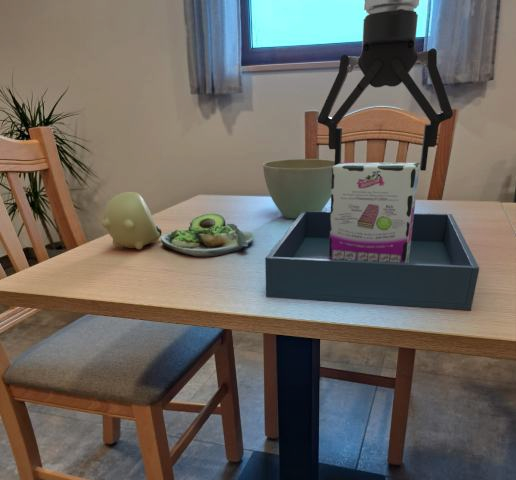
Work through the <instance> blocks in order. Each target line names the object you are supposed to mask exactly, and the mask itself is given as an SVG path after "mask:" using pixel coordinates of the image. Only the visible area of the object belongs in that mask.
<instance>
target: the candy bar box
mask: <svg viewBox="0 0 516 480" xmlns="http://www.w3.org/2000/svg"><path fill="white" fill-rule="evenodd" d="M420 163H421V162H341V163H339V164H337V165H334V166H333V167H332V186H331V197H330V211H331V218H330V245H329V259H333V260H354V261H376V262H398V263H409V254H410V246H411V236H412V228H413V218H414V213H415V208H416V201H417V191H418V181H419V173H420Z"/></svg>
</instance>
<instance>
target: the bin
mask: <svg viewBox="0 0 516 480" xmlns="http://www.w3.org/2000/svg"><path fill="white" fill-rule="evenodd" d="M330 218H331V210H330V211H329V210H328V211H327V210H322V211H303V212H302V213H301V214H300V215H299V217H298V218H297V219H294V221H293V223H292V224H291V225H290V226H289V228H288V229H287V230H286V232H285V233H284V234H283V235H282V237H281V238H280V239H279V240H278V242H277V243H276V244H275V246H274V247H272V249H271V250H270V252H269V253H268V254H267V255H266V256H265V261H264V263H265V266H264V267H265V297H266V298H278V299H279V298H280V299H296V300H307V301H308V300H309V301H310V300H311V301H322V302H323V301H325V302H337V303H338V302H339V303H351V304H352V303H354V304H355V303H356V304H367V305H383V306H384V305H385V306H396V307H397V306H398V307H413V308H414V307H415V308H427V309H441V310H442V309H443V310H458V311H460V310H461V311H472V307H473V302H474V299H475V298H474V297H475V294H476V293H475V292H476V288H477V282H478V277H479V272H480V267H479V265H478V263H477V260H476V258H475V257H474V255H473V253H472V251H471V249H470V247H469V245H468V243H467V241H466V240H465V237H464V235H463V233H462V231H461V229H460V227H459V226H458V223H457V221H456V219H455V218H454V216H453V214H452V213H424V212H423V213H421V212H420V213H419V212H418V213H417V212H416V213H415V212H414V218H413V228H412V236H411V246H410V254H409V263H398V262H376V261H354V260H333V259H329V245H330Z"/></svg>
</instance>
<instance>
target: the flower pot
mask: <svg viewBox="0 0 516 480" xmlns="http://www.w3.org/2000/svg"><path fill="white" fill-rule="evenodd" d="M334 165H335V160H332V159H323V158H321V159H320V158H296V159H295V158H289V159H277V160H271V161H266V162H264V163H263V164H262V169H263V176H264V181H265V184H266V188H267V191H268V194H269V195H270V198H271V200H272V202H273V203H274V205H275V206H276V208H277V209H278V211H279V212H280V213H281V215H282V216H283V217H285V218H287V219H292V220H296V219H297V218H298V217H299V215H300V214H301V213H302V212H303V211H323V210H324V208H325V207H326V205H327V204H328V203H329V201H330V200H331V186H332V167H333V166H334Z"/></svg>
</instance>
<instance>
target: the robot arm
mask: <svg viewBox="0 0 516 480" xmlns="http://www.w3.org/2000/svg"><path fill="white" fill-rule="evenodd" d="M419 5H420V0H364V9H363V10H364V12H365V13H366V14H367V15H366V16H365V17H364V19H363V24H362V25H363V26H362V42H361V43H362V45H361V53H360V55H359V56H349V55H348V54H343V55H341V57H340V59H339V67H338V73H337V75H336V76H335V79H334V82H333V84H332V85H331V88H330V90H329V93H328V95H327V97H326V99H325V101H324V103H323V106H322V108H321V111H320V112H319V114H318V116H317V123H318V124H320V125H323V126H326V127H327V128H328V148H329V150H334V161H335V165H337V164H339V163H342V143H343V142H342V140H343V127H341V126H340V127H338V125H339V124H340V122H341V121H342V120H343V118H344V117H345V116H346V114H347V113H348V112H349V111H350V110H351V108H352V107H353V106H354V105H355V103H357V101H358V99H359V98H360V97H361V95H362V94H363V93H364V92H365V91H366V89H367V88H368V87H369V85H370V86H371V87H373V88H381V87H385V86H387V87H392V88H394V87H397V86H399V85H401V84H403V85H404V87H405V88H406V90H407V91H408V92H409V94H410V95H411V97H412V98H413V99H414V101H415V102H416V104H417V105H418V106H419V108H420V109H421V111H422V112H423V113H424V115H425V116H426V118H427V119H428V120H429V123H425V124H424V128H423V137H422V144H421V146H422V147H421V156H420V162H419V163H420V164H419V171H427V162H428V156H429V155H428V154H429V148H435V147H436V145H437V142H438V135H439V127H440V125H441V124H442V122H444V121H447V120H450V119H452V118H453V115H454V112H453V109H452V106H451V103H450V99H449V98H448V95H447V92H446V88H445V85H444V83H443V80H442V76H441V74H440V72H439V68H438V63H437V61H438V59H437V58H438V52H437V49H436V48H433V47H432V48H430V49H429V50H425V51H420V52H417V50H416V38H417V28H418V17H419V14H417V12H416V11H415V9H417V7H419ZM417 62H419V63H420V65H421V67H422V68H423V69H426V70H427V75H428V78H429V80H430V83H431V87H432V89H433V93H434V95H435V98H436V100H437V103H438V105H439V109H440V111H441V112H438V113H437V112H436V110H435V109H434V108H433V106H432V105H431V103H430V102H429V100H428V99H427V98H426V97H425V95H424V93H423V92H422V91H421V89H420V88H419V86H418V85H417V83H416V82H415V80H414V79H413V77H412V76H411V75H410V71H412V69H413V67H415V65H416V64H417ZM356 66H358V67H359V69H360V71H361V73H362V75H363V77H362V78H361V79H360V80H359V82H358V83H357V85H356V86H355V88H353V90H352V91H351V92H350V94H349V95H348V97H347V98H346V99H345V101H344V102H343V103H342V104H341V106H340V107H339V108H338V110H337V111H336V112H335V114H334V115H333V116H332V117H330V114H331V112H332V109H333V108H334V106H335V103H336V102H337V99H338V97H339V94H340V92H341V91H342V88H343V86H344V84H345V82H346V80H347V77H348V74H350V73H352V72H353V71H354V68H355V67H356Z"/></svg>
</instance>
